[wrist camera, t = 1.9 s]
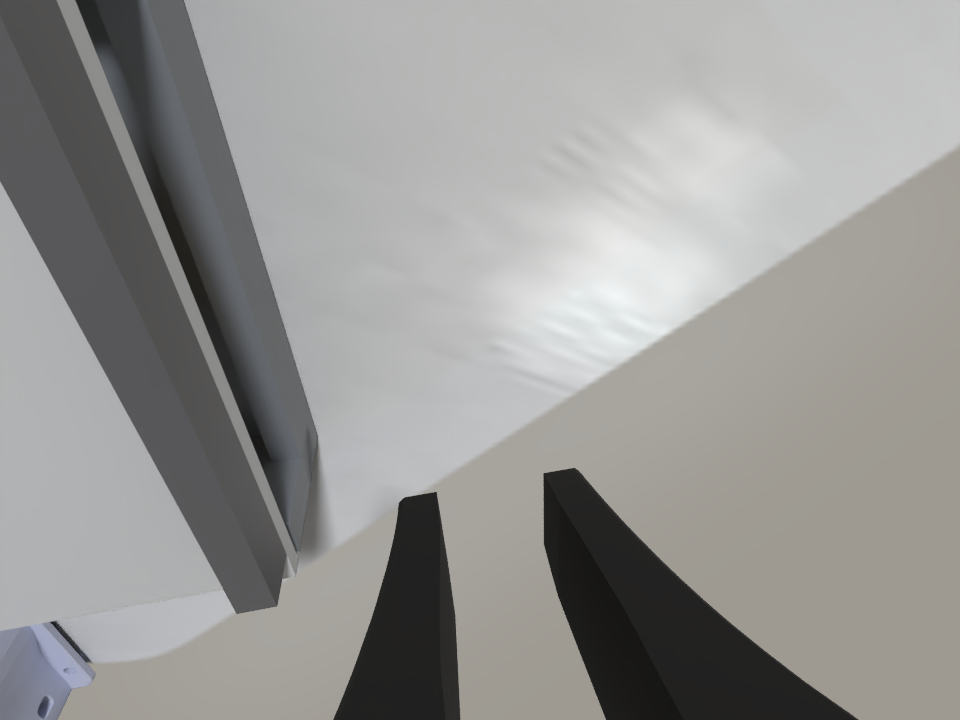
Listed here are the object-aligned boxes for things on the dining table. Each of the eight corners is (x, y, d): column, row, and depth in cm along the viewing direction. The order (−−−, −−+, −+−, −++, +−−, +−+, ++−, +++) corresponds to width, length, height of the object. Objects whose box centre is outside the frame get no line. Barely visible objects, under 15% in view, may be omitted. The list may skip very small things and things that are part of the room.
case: (317, 436, 20) (299, 550, 16) (19, 483, 19) (-95, 621, 15) (155, -93, 12) (13, -180, 7) (-395, -64, 11) (-975, -145, 6)
